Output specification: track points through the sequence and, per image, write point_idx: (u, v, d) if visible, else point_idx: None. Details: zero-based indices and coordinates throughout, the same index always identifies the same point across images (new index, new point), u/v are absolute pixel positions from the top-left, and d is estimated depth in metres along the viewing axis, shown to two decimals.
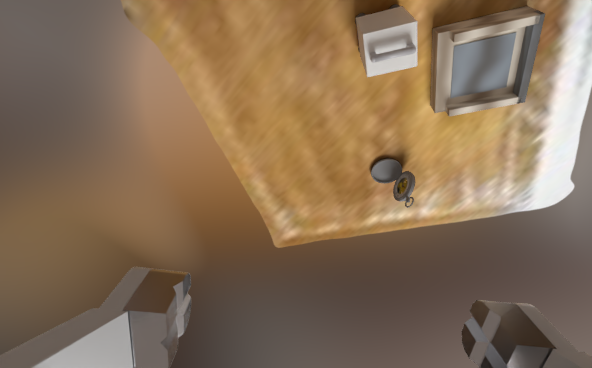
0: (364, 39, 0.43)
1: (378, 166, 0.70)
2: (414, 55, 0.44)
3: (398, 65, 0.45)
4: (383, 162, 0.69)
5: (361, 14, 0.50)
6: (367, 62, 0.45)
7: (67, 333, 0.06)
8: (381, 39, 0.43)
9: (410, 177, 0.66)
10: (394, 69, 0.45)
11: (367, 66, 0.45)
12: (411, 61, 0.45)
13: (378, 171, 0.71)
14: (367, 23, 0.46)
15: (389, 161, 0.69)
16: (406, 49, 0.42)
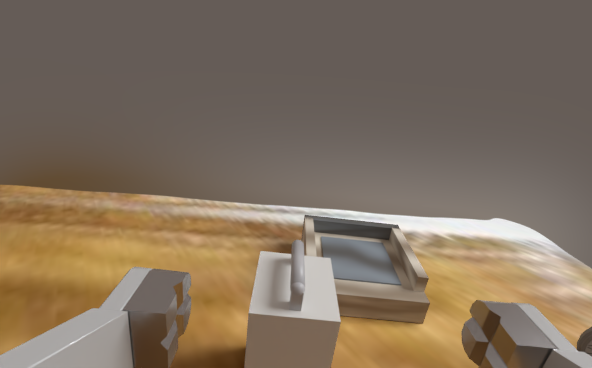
0: (259, 312, 0.21)
1: None
2: (312, 259, 0.27)
3: (324, 276, 0.25)
4: None
5: None
6: (308, 315, 0.21)
7: (67, 333, 0.06)
8: (270, 289, 0.23)
9: (587, 339, 0.30)
10: (331, 281, 0.24)
11: (316, 317, 0.21)
12: (321, 263, 0.26)
13: None
14: None
15: None
16: (293, 248, 0.25)
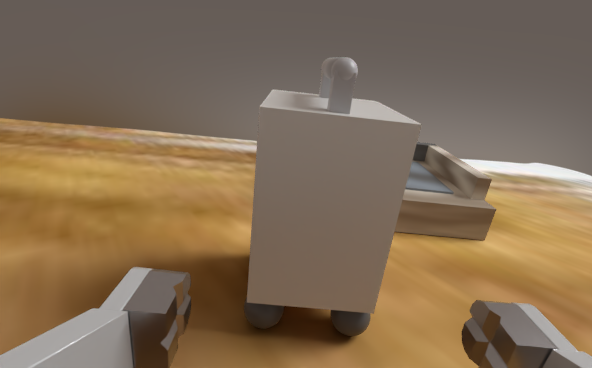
0: (278, 109, 0.12)
1: None
2: None
3: (374, 105, 0.16)
4: None
5: (246, 299, 0.16)
6: (363, 116, 0.12)
7: (67, 333, 0.06)
8: (293, 102, 0.14)
9: None
10: (386, 107, 0.15)
11: (379, 118, 0.12)
12: (365, 101, 0.17)
13: None
14: None
15: None
16: (326, 61, 0.16)
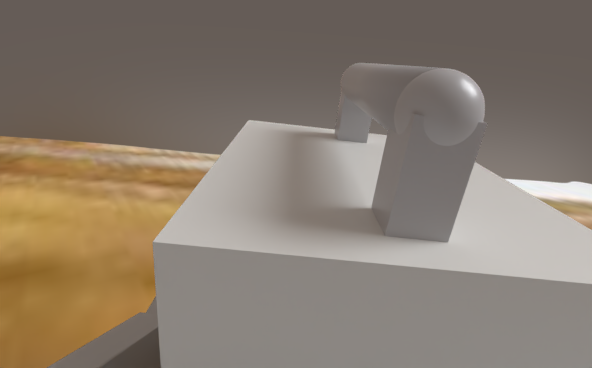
0: (223, 243, 0.03)
1: None
2: None
3: None
4: None
5: None
6: (503, 262, 0.04)
7: (120, 338, 0.06)
8: (280, 175, 0.06)
9: None
10: (485, 172, 0.07)
11: (554, 271, 0.04)
12: None
13: None
14: None
15: None
16: (353, 70, 0.08)
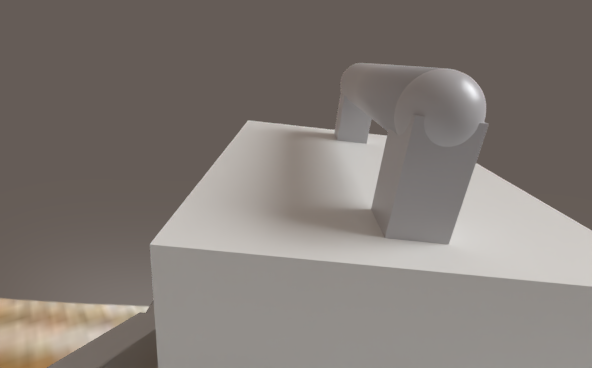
0: (221, 246, 0.03)
1: None
2: None
3: None
4: None
5: None
6: (504, 265, 0.04)
7: (120, 337, 0.06)
8: (279, 176, 0.05)
9: None
10: (486, 173, 0.07)
11: (556, 273, 0.04)
12: None
13: None
14: None
15: None
16: (352, 70, 0.08)
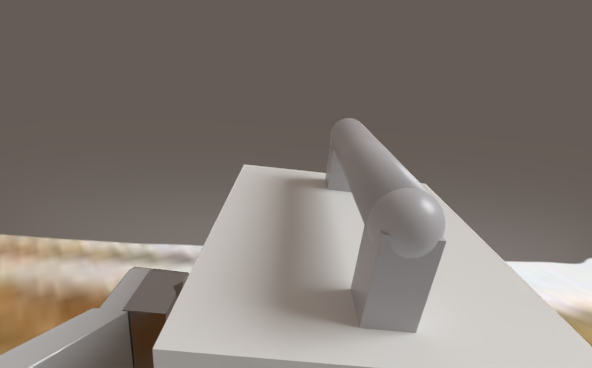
0: (214, 346, 0.04)
1: None
2: None
3: None
4: None
5: None
6: (461, 358, 0.04)
7: (67, 333, 0.06)
8: (270, 248, 0.06)
9: None
10: (464, 230, 0.08)
11: (506, 366, 0.04)
12: None
13: None
14: None
15: None
16: (340, 130, 0.08)
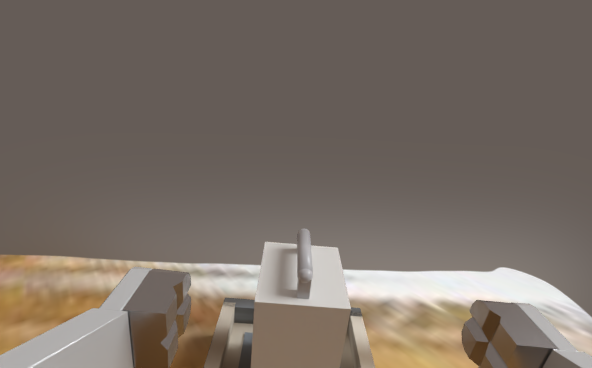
0: (266, 301, 0.20)
1: None
2: (318, 248, 0.26)
3: (332, 265, 0.24)
4: None
5: None
6: (316, 303, 0.20)
7: (67, 333, 0.06)
8: (276, 278, 0.22)
9: None
10: (339, 270, 0.23)
11: (325, 305, 0.20)
12: (328, 252, 0.25)
13: None
14: None
15: None
16: (299, 236, 0.24)
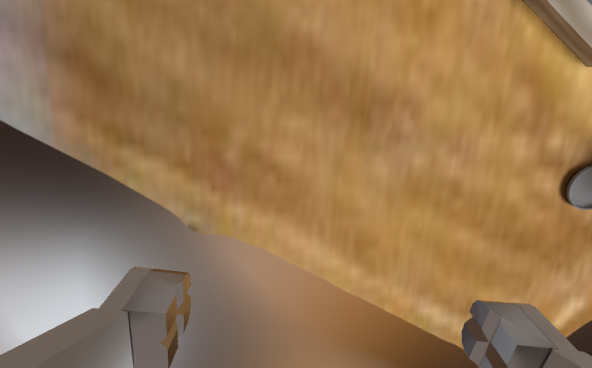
0: None
1: (574, 189, 0.44)
2: None
3: None
4: (577, 179, 0.44)
5: None
6: None
7: (67, 333, 0.06)
8: None
9: None
10: None
11: None
12: None
13: (579, 195, 0.45)
14: None
15: (585, 172, 0.43)
16: None
